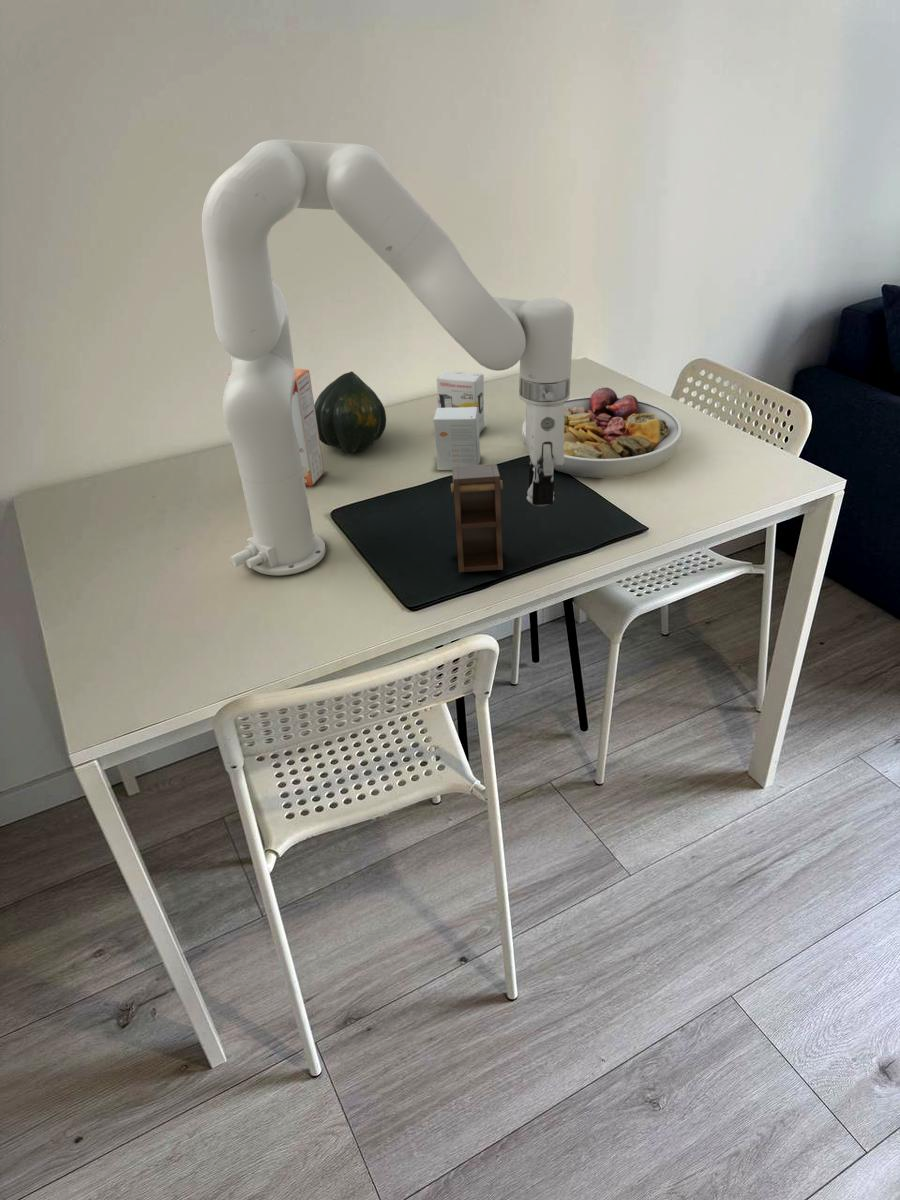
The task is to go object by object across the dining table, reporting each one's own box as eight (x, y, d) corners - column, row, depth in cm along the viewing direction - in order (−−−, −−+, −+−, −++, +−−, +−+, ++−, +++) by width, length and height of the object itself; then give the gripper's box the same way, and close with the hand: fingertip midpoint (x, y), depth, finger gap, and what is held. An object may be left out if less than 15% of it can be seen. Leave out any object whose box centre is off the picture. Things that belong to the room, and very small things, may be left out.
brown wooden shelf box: (449, 466, 132) (450, 479, 126) (499, 463, 132) (502, 476, 126) (454, 557, 138) (456, 572, 133) (502, 553, 138) (505, 569, 133)
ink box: (437, 433, 178) (434, 378, 172) (446, 424, 182) (443, 369, 176) (478, 437, 176) (475, 381, 169) (485, 427, 180) (483, 372, 173)
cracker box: (245, 481, 165) (223, 375, 153) (260, 467, 170) (240, 363, 158) (312, 488, 161) (295, 379, 149) (325, 473, 166) (309, 367, 154)
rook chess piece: (532, 509, 137) (533, 462, 133) (522, 496, 141) (523, 451, 136) (558, 504, 138) (560, 458, 134) (548, 492, 142) (550, 447, 137)
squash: (313, 443, 165) (355, 374, 162) (291, 419, 176) (329, 355, 174) (371, 475, 173) (411, 411, 170) (346, 451, 185) (383, 390, 182)
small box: (480, 457, 168) (478, 406, 162) (478, 470, 164) (476, 418, 158) (439, 458, 169) (436, 406, 163) (436, 470, 164) (433, 418, 158)
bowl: (684, 487, 154) (689, 446, 149) (515, 483, 158) (515, 444, 154) (675, 419, 178) (678, 382, 173) (528, 418, 183) (528, 382, 178)
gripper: (579, 407, 122) (572, 521, 132) (561, 366, 136) (556, 472, 146) (525, 409, 122) (523, 523, 132) (513, 368, 136) (511, 473, 146)
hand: (540, 495), depth 139 cm, fingers closed on rook chess piece, 4 cm apart
